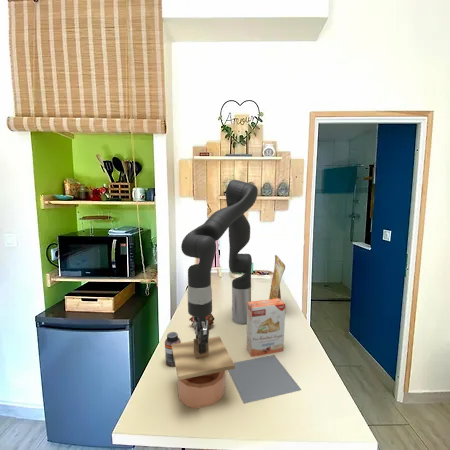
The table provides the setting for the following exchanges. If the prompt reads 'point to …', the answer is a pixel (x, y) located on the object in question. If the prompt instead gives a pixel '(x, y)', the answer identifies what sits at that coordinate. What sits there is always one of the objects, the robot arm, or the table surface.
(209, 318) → the dragon fruit
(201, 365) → the board
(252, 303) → the cracker box
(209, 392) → the bowl
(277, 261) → the pancake mix bag
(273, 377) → the mat
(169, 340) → the supplement bottle
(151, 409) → the table surface
